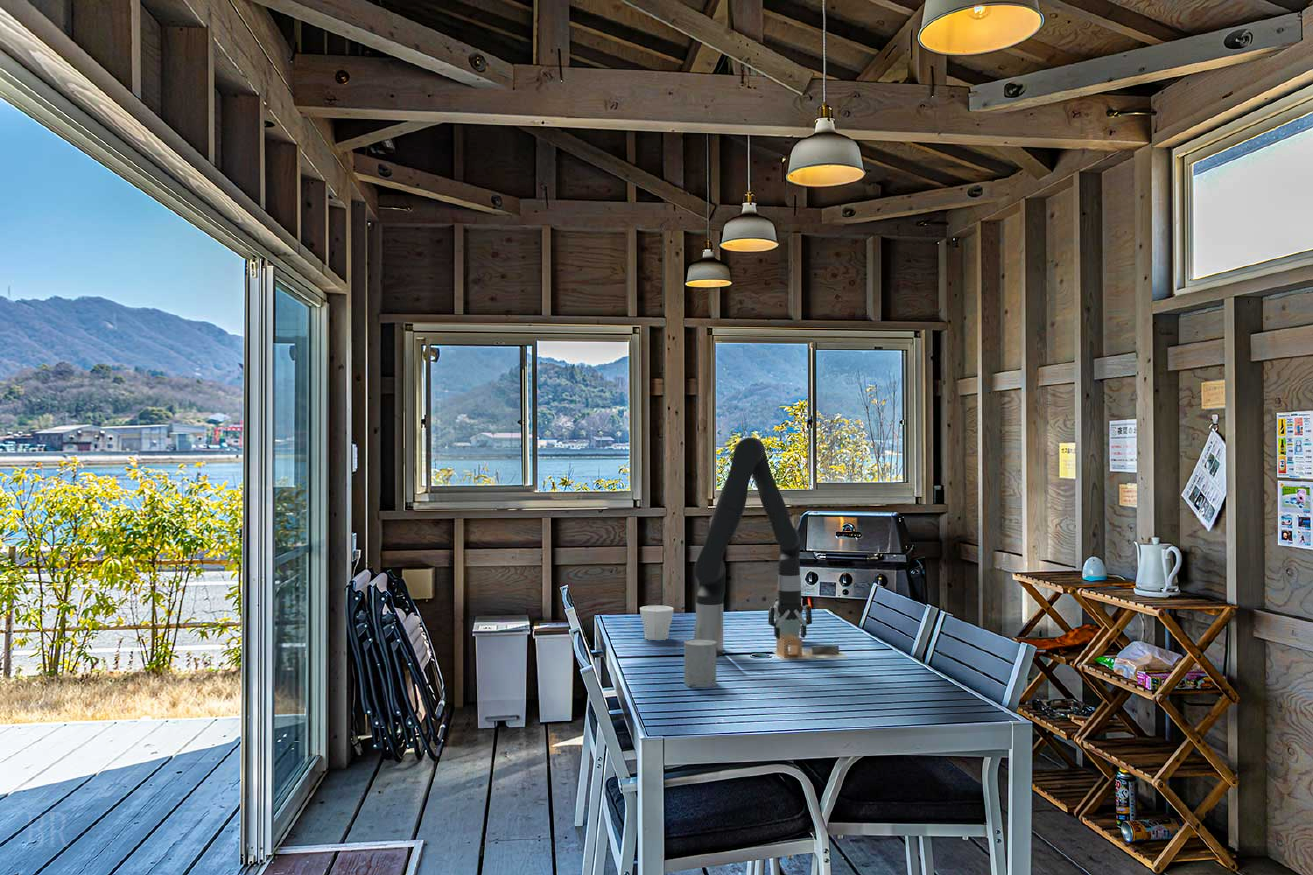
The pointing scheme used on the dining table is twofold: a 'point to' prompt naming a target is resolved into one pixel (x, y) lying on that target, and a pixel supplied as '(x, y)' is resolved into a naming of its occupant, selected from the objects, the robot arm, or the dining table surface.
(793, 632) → the disposable coffee cup
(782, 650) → the cardboard box
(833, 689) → the dining table surface
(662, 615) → the cup
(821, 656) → the board
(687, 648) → the grey cylinder
